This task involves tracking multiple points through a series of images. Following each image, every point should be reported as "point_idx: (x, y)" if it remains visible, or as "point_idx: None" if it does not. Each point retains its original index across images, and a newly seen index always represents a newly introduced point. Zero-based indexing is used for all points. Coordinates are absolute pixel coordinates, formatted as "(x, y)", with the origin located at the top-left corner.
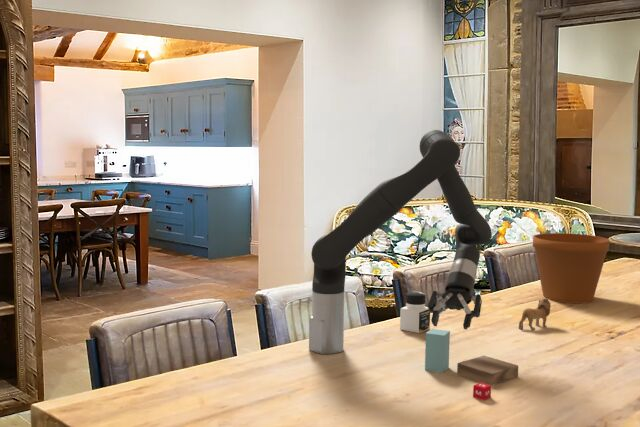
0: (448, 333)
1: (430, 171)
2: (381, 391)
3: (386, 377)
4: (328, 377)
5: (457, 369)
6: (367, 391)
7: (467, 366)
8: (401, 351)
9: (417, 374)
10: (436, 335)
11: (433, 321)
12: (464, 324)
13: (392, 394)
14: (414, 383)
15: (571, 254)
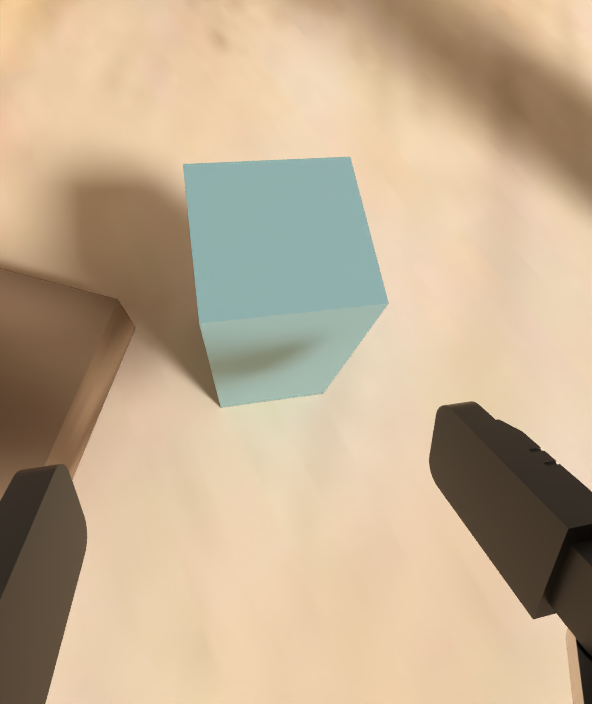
0: (195, 286)
1: None
2: (306, 28)
3: (377, 139)
4: (521, 57)
5: (127, 315)
6: (342, 12)
7: (43, 280)
8: None
9: None
10: (255, 167)
11: (467, 405)
12: (36, 472)
13: (261, 21)
14: (252, 133)
15: None
